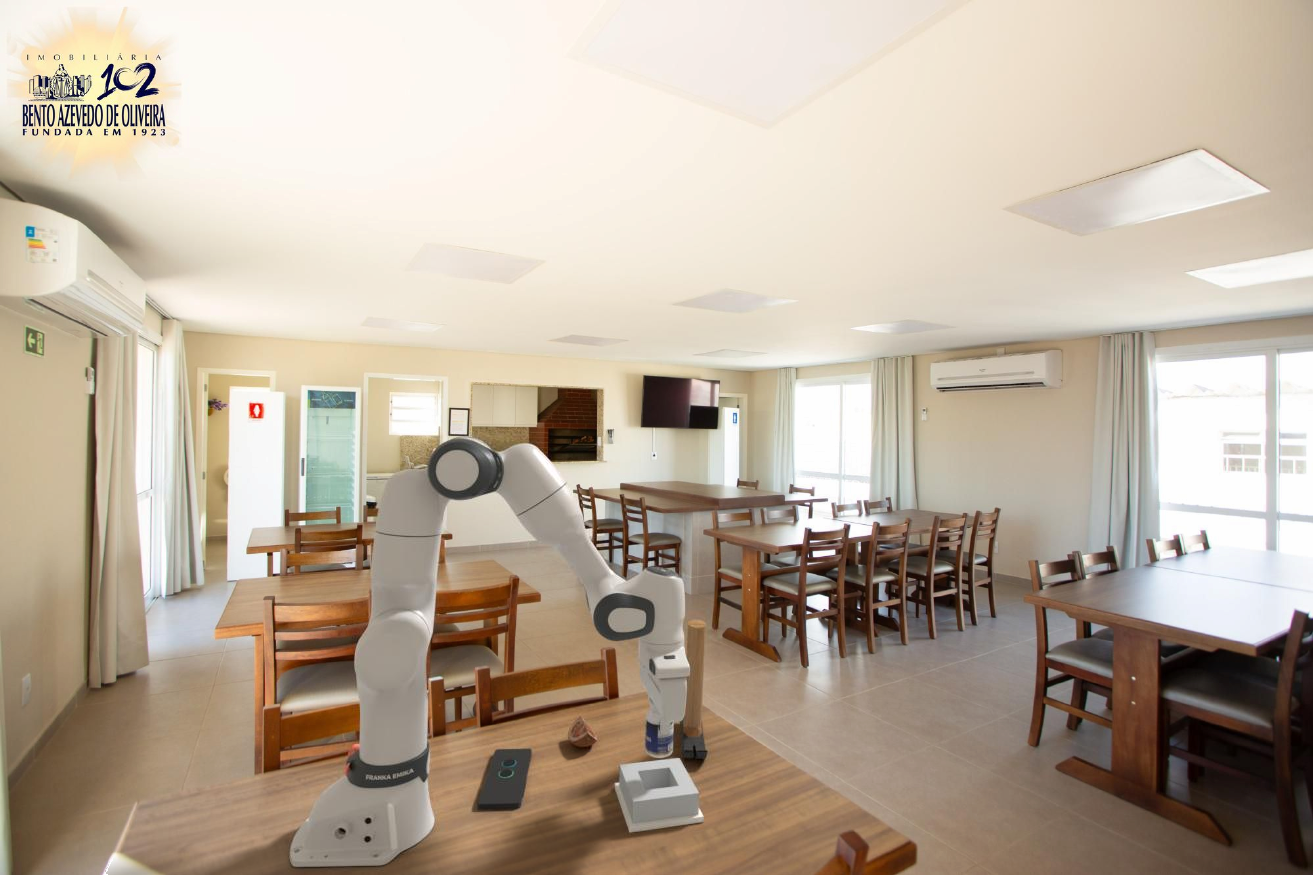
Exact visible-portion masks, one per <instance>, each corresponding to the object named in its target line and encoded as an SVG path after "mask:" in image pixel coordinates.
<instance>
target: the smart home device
mask: <svg viewBox="0 0 1313 875" xmlns="http://www.w3.org/2000/svg"><path fill="white" fill-rule="evenodd" d="M532 753H533V752H532V748H499V749H498V748H497V749H495V751H494V752H493V755H492V758H491V760H490V764H489V768H488V770H487V773H486V776H485V779H484V782H483V785H482V789H481V791H480V794H479V797H478V800H477V809H478V811H490V810H492V811H493V810H519V809H520V808H521V807H522V806H521V805H522V802H523V798H524V796H525V792H526V787H527V786H526V785H527V778H528V775H529V774H528V773H529V770H530V764H531V761H532V760H531V759H532Z"/></svg>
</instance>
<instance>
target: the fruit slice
mask: <svg viewBox="0 0 1313 875" xmlns="http://www.w3.org/2000/svg"><path fill="white" fill-rule="evenodd" d="M567 739H568V741H569V742H570V743H571V744H572V745H574V746H577V747H579V748H586V747H590V746H592V745H595V743H597V742H598V737H597V735H596V733H595V732H594V731H593V729H592V727H591V725H589V723H588V722H587V721H586V720H585V719H584V717H582V716H579V717H578V718H577V719H576V720H574V722H573V723H572V725H571V726H570V727H569V730H568V732H567Z"/></svg>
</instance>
